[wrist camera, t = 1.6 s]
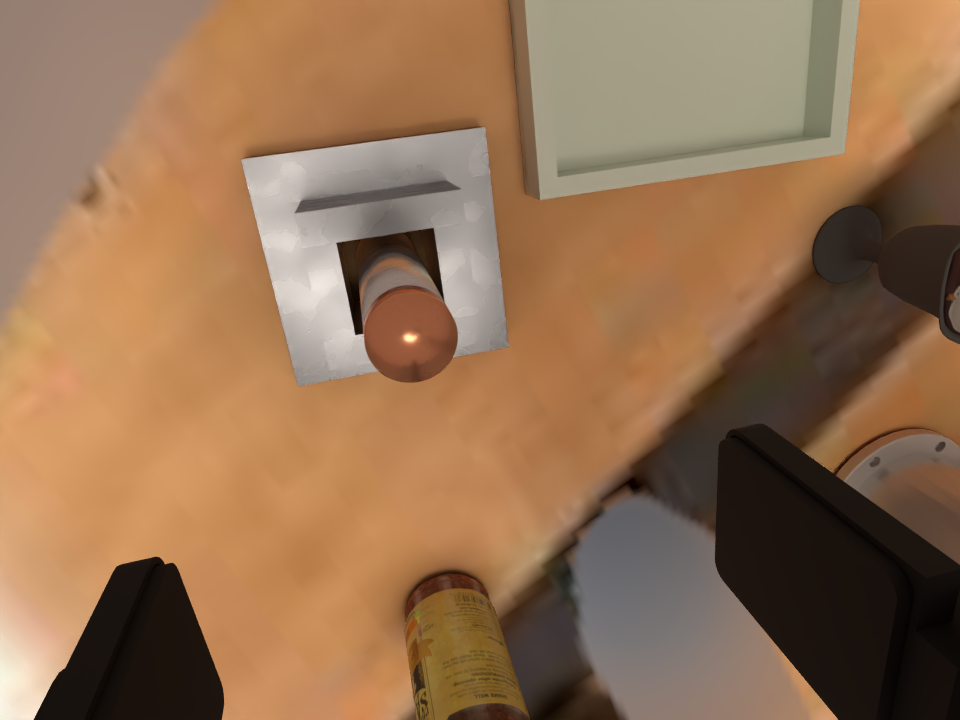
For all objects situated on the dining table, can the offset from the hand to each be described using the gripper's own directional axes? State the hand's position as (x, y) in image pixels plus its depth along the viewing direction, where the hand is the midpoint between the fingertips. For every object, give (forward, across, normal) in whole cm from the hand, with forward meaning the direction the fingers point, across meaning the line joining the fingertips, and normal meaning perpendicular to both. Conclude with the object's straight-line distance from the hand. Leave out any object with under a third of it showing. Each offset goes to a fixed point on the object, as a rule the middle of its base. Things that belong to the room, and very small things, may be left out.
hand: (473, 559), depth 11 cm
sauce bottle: (+26, 0, +25) cm, 36 cm away
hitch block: (+26, 0, 0) cm, 26 cm away
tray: (+26, -17, -9) cm, 32 cm away
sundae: (+26, -29, +4) cm, 39 cm away
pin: (+26, 0, 0) cm, 26 cm away
